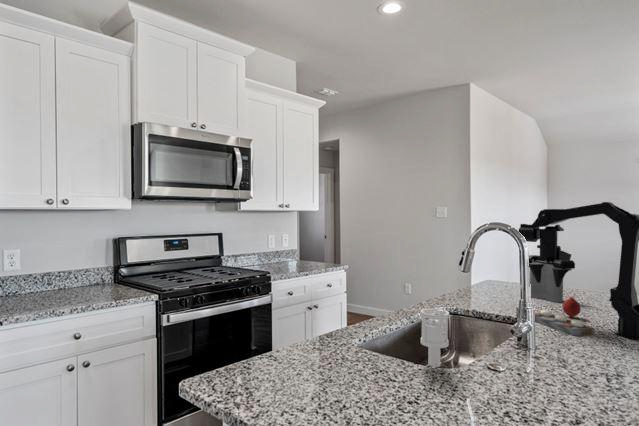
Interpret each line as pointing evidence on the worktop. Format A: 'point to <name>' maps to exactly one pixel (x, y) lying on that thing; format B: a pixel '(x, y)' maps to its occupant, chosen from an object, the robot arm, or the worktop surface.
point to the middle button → (561, 318)
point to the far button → (546, 313)
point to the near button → (577, 323)
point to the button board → (563, 325)
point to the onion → (571, 307)
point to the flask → (546, 285)
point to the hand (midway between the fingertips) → (548, 284)
